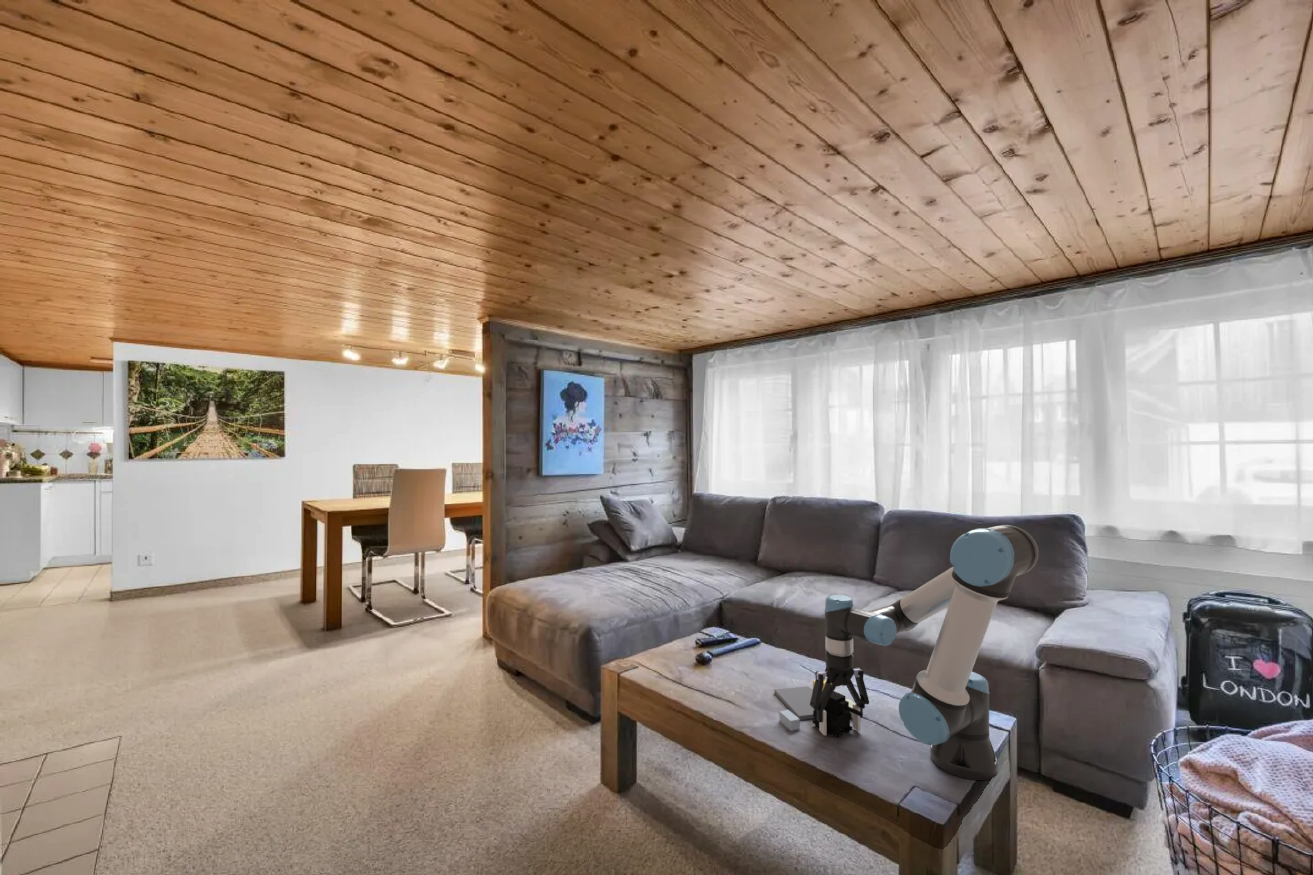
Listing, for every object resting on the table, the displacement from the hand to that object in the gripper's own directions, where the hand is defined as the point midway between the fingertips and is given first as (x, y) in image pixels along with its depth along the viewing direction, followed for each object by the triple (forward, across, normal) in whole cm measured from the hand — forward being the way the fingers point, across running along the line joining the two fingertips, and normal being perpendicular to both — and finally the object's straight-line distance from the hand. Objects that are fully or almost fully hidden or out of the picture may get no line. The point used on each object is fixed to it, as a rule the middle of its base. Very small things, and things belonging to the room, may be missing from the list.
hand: (839, 730), depth 156 cm
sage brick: (+1, -9, -10) cm, 13 cm away
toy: (+1, 0, 0) cm, 1 cm away
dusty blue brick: (+1, +12, -7) cm, 14 cm away
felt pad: (0, +2, -18) cm, 18 cm away
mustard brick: (+1, -9, -26) cm, 27 cm away
